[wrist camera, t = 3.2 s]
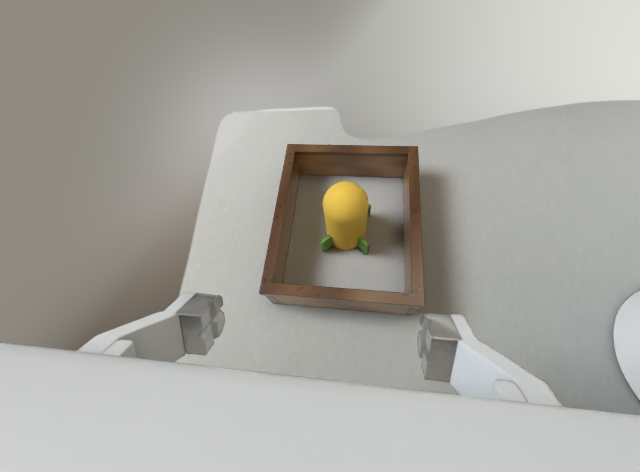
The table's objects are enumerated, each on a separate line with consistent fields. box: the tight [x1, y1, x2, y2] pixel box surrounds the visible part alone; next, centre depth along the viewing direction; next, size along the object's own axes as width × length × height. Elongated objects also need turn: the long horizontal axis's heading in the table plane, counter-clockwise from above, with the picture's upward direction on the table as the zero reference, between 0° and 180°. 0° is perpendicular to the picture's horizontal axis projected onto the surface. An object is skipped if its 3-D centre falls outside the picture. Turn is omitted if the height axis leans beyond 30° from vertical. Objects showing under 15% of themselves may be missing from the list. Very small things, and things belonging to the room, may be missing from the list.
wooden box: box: [259, 144, 425, 315], centre depth 33 cm, size 15×18×5 cm
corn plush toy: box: [320, 181, 371, 255], centre depth 31 cm, size 5×5×8 cm
